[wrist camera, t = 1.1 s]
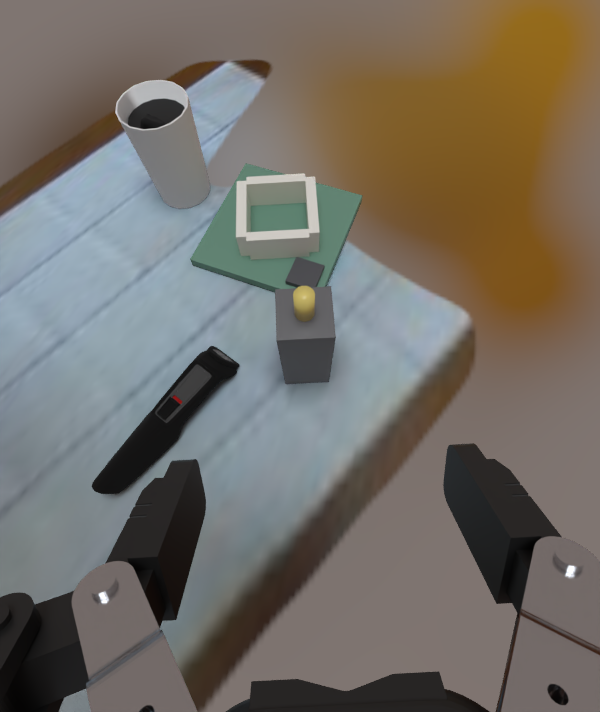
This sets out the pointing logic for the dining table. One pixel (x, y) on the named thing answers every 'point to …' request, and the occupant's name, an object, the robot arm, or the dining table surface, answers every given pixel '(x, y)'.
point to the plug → (305, 333)
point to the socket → (271, 193)
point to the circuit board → (278, 273)
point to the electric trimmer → (171, 409)
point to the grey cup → (166, 140)
